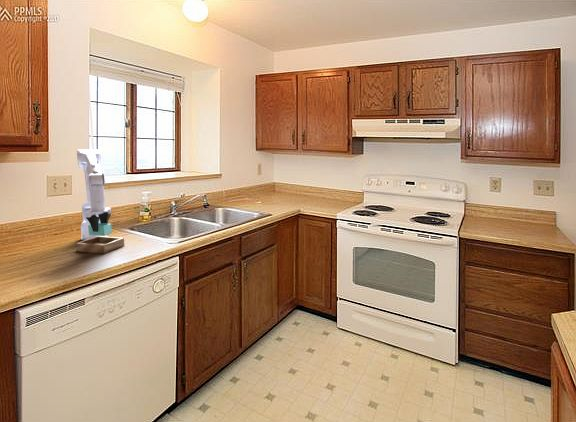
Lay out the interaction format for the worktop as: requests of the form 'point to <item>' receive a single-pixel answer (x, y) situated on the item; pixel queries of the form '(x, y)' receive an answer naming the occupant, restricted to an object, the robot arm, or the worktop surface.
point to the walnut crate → (100, 244)
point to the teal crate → (101, 229)
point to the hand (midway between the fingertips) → (99, 230)
